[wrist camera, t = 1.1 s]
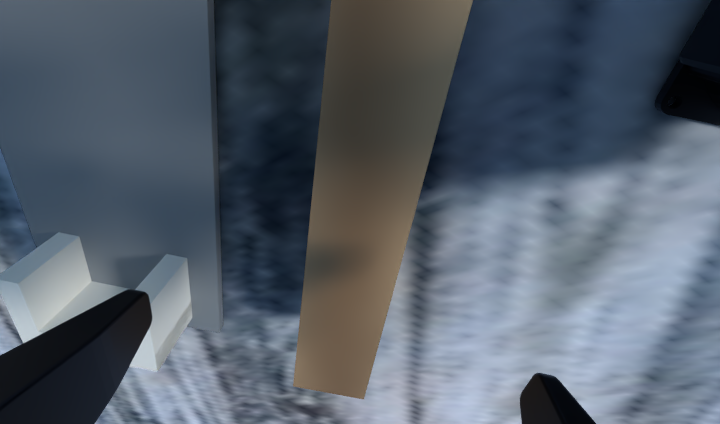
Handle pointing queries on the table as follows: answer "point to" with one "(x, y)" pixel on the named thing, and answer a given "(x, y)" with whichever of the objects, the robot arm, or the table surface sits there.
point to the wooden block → (369, 175)
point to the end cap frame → (113, 162)
